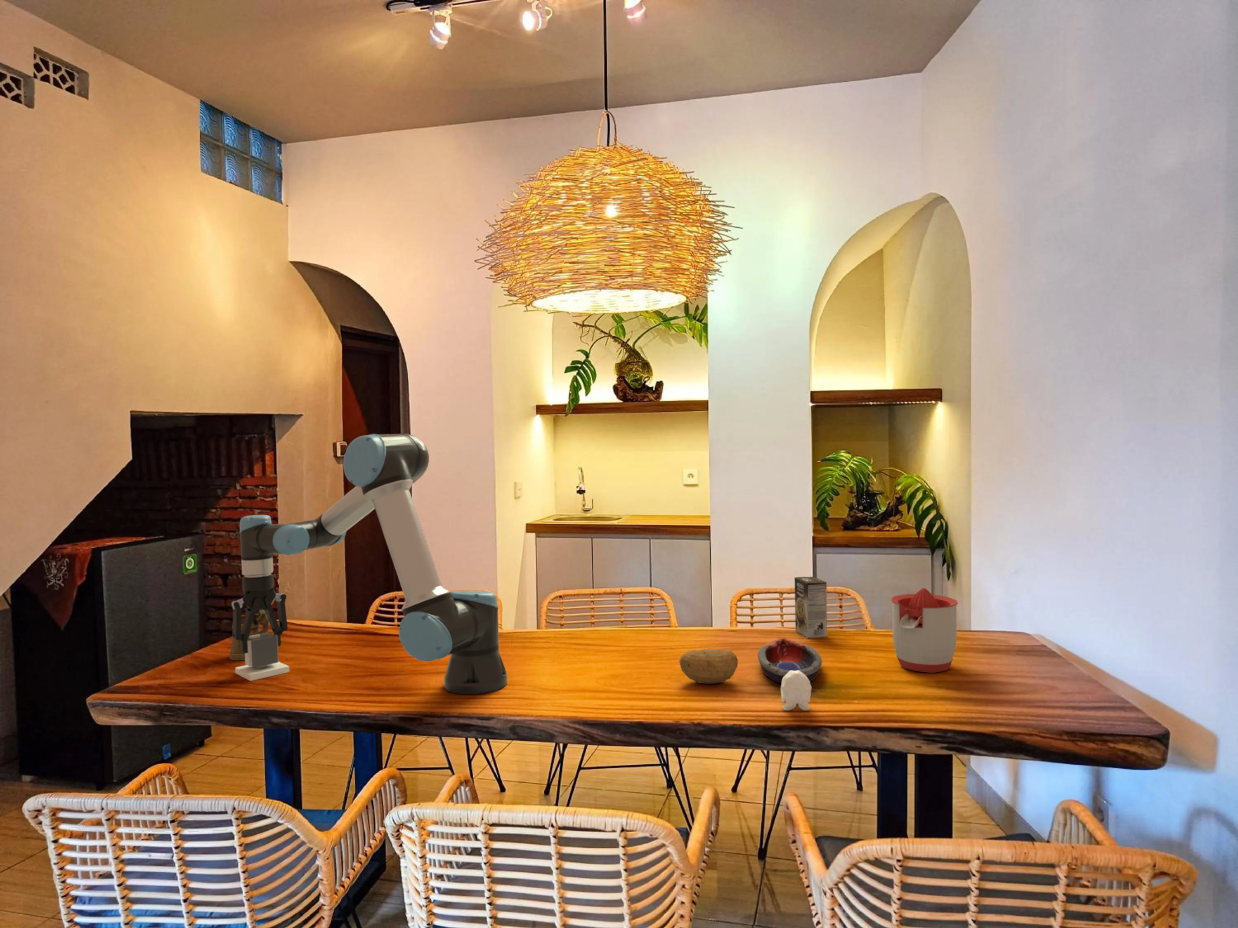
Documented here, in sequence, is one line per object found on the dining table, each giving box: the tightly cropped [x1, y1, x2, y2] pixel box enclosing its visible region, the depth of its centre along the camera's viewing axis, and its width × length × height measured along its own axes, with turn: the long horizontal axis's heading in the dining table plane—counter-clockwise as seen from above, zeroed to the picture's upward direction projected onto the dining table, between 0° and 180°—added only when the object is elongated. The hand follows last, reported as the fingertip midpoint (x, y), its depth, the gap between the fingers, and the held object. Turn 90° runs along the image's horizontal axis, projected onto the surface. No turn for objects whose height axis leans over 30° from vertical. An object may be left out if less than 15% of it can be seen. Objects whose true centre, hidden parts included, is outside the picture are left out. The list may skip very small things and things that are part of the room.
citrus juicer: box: [890, 587, 959, 674], centre depth 206 cm, size 16×17×20 cm
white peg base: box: [234, 661, 290, 682], centre depth 217 cm, size 10×10×6 cm
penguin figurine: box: [780, 670, 812, 711], centre depth 182 cm, size 6×8×12 cm
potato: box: [678, 648, 739, 685], centre depth 199 cm, size 10×14×8 cm
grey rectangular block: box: [248, 632, 279, 668], centre depth 217 cm, size 6×6×8 cm
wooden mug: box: [229, 598, 276, 661], centre depth 233 cm, size 9×14×18 cm, turn 84°
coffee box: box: [794, 576, 828, 639], centre depth 242 cm, size 9×6×16 cm
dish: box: [757, 637, 823, 684], centre depth 207 cm, size 16×31×5 cm, turn 171°
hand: (262, 661), depth 217 cm, fingers closed on grey rectangular block, 6 cm apart
